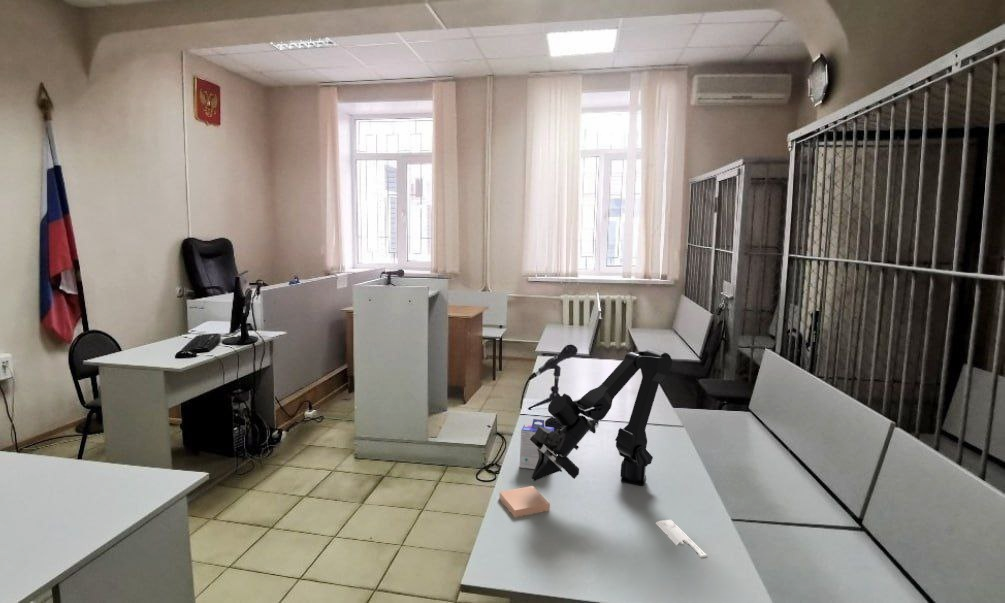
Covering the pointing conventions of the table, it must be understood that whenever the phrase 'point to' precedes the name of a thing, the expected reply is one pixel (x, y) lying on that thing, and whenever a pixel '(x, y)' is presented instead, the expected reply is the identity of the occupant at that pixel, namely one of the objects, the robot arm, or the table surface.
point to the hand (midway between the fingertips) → (532, 479)
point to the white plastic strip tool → (678, 535)
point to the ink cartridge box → (530, 445)
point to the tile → (524, 501)
